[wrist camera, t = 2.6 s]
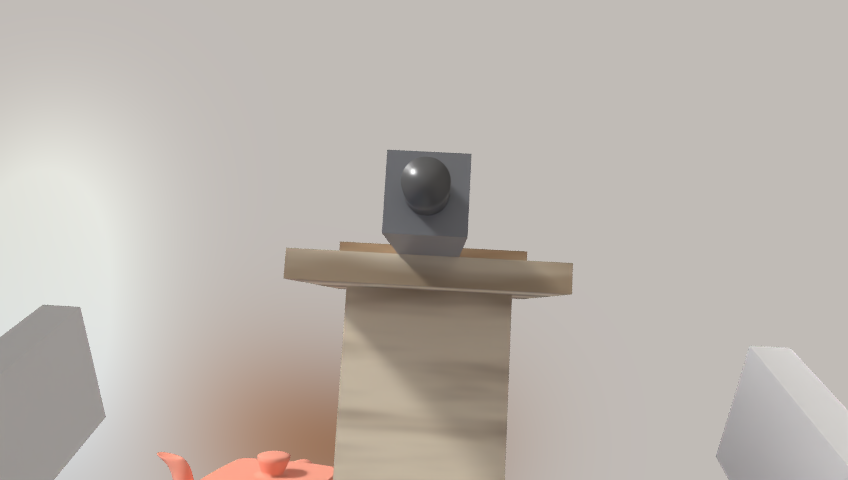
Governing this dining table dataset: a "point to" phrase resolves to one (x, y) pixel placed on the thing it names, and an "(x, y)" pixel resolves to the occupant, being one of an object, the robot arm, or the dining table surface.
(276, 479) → the teapot
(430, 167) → the grey long square-ended piece
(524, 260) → the wooden pedestal stand
